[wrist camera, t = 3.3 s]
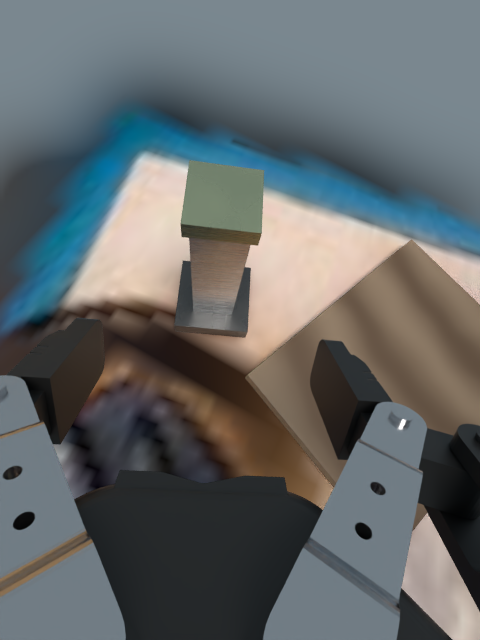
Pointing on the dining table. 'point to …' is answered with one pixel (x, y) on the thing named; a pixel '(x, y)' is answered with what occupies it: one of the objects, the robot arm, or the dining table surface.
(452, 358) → the serving board
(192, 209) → the square capped column
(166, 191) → the dining table surface
